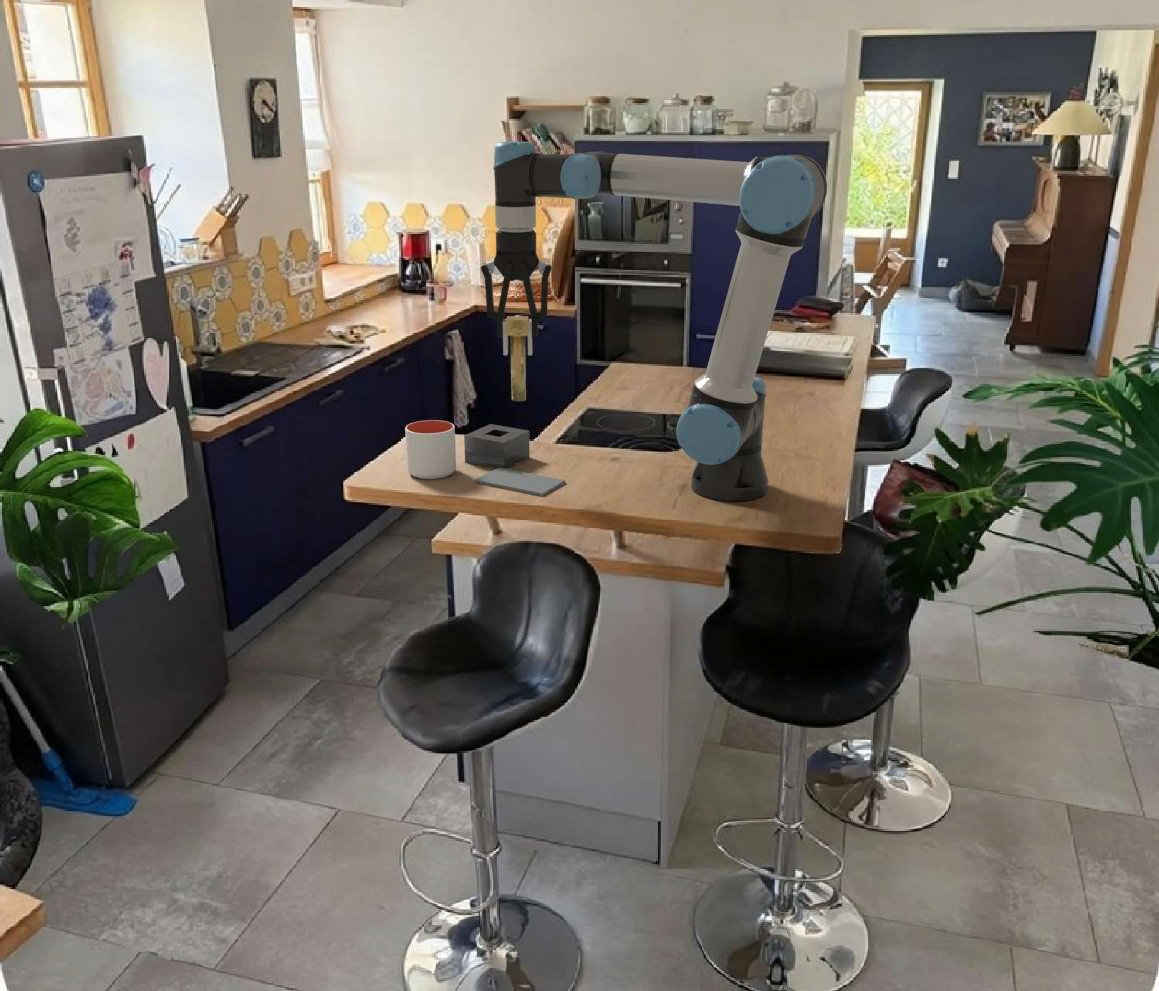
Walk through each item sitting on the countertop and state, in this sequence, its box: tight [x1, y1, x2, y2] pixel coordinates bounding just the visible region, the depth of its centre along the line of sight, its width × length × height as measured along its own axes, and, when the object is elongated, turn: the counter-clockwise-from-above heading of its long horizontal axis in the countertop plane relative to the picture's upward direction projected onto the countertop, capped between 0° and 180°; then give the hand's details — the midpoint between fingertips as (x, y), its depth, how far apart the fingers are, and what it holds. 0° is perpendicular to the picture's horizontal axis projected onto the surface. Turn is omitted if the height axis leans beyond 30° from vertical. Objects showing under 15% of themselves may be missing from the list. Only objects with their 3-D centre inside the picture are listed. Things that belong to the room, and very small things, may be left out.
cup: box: [404, 419, 457, 480], centre depth 210 cm, size 10×10×10 cm
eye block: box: [463, 423, 530, 469], centre depth 219 cm, size 10×10×6 cm
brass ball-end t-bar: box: [506, 314, 529, 402], centre depth 198 cm, size 13×4×16 cm, turn 1°
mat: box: [474, 467, 566, 497], centre depth 206 cm, size 16×9×1 cm, turn 61°
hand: (518, 353), depth 197 cm, fingers closed on brass ball-end t-bar, 4 cm apart
